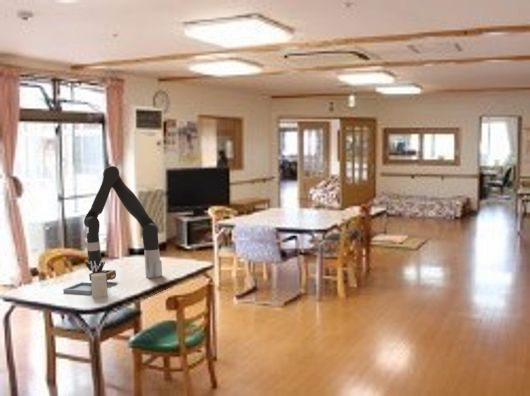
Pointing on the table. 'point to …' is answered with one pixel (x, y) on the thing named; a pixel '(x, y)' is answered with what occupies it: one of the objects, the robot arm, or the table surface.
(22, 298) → the table surface
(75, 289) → the tray
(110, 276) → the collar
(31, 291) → the table surface
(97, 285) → the cup
